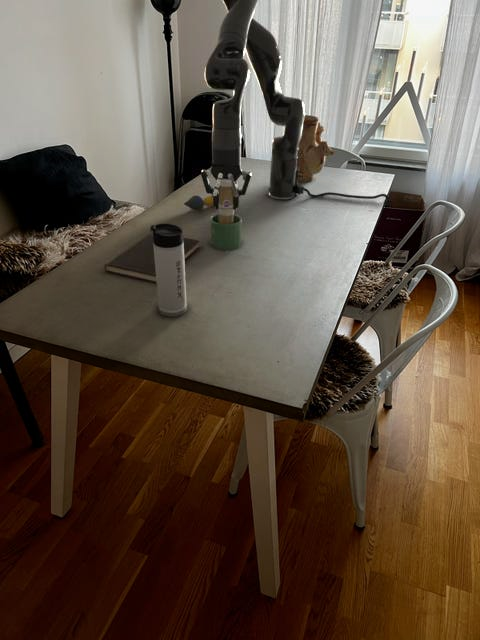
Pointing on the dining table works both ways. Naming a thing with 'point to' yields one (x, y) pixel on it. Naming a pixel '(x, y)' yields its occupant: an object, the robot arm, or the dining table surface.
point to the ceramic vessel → (311, 149)
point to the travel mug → (169, 269)
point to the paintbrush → (199, 202)
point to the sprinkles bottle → (225, 202)
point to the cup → (226, 233)
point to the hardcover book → (143, 259)
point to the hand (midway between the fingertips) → (226, 208)
